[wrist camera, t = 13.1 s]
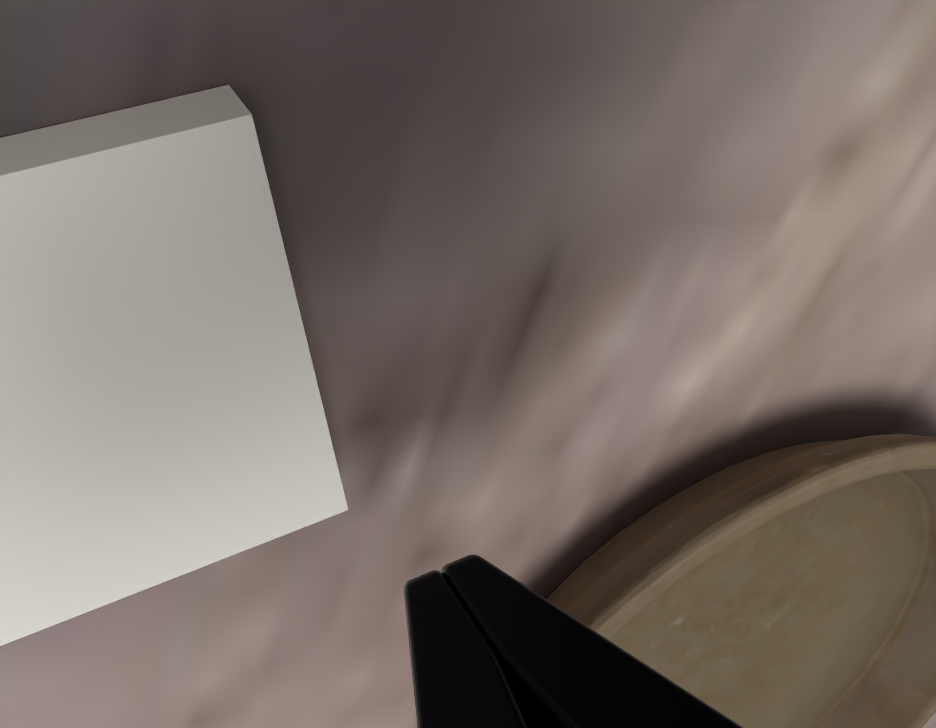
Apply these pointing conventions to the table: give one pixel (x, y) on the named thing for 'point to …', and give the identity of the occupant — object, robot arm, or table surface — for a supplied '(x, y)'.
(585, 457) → the table surface
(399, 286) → the table surface
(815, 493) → the plant saucer
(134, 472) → the bench slab
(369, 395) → the table surface
